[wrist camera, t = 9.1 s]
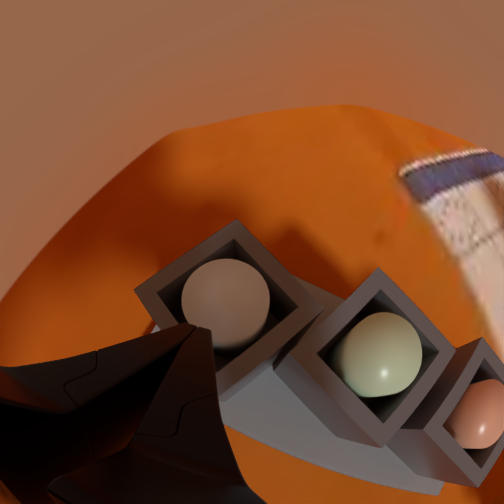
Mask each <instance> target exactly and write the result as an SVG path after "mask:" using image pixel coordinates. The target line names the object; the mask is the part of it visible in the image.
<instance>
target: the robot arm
mask: <svg viewBox="0 0 504 504" xmlns="http://www.w3.org/2000/svg"><path fill="white" fill-rule="evenodd" d="M0 504H267V503H266V502H265V501H264V500H262V499H261V498H260V497H259V496H258V495H257V494H256V493H255V492H254V491H252V490H251V489H250V487H249V486H248V485H247V483H246V482H245V480H244V478H243V476H242V474H241V472H240V469H239V467H238V464H237V462H236V459H235V456H234V454H233V451H232V448H231V446H230V443H229V440H228V437H227V434H226V431H225V428H224V424H223V421H222V417H221V412H220V406H219V398H218V391H217V382H216V372H215V362H214V352H213V341H212V331H211V330H210V329H207V328H203V327H197V326H196V325H193V324H189V323H181V324H178V325H175V326H172V327H169V328H166V329H163V330H160V331H157V332H154V333H151V334H148V335H145V336H141V337H138V338H135V339H132V340H129V341H125V342H122V343H119V344H116V345H112V346H109V347H106V348H102V349H99V350H98V351H92V352H88V353H85V354H81V355H77V356H73V357H69V358H65V359H60V360H54V361H49V362H43V363H37V364H30V365H24V366H17V367H3V366H0Z"/></svg>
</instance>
